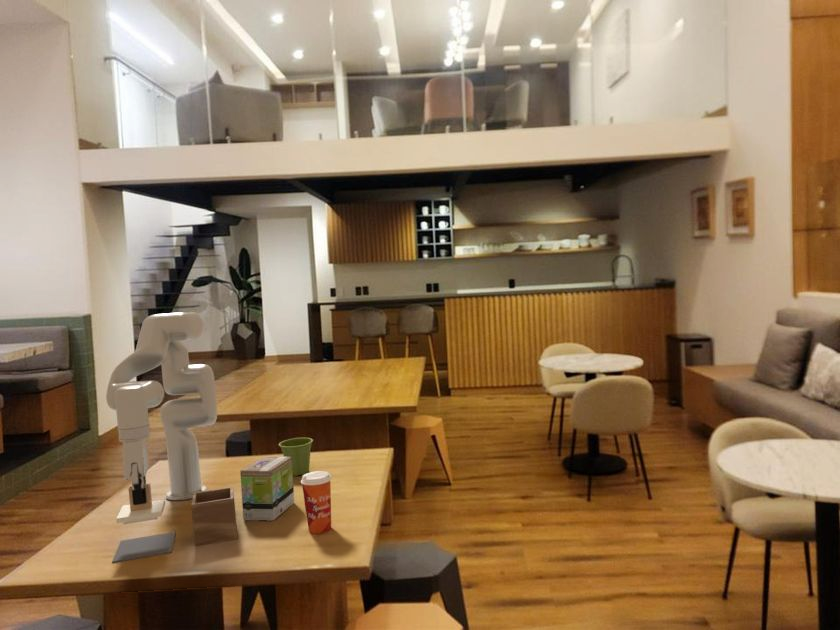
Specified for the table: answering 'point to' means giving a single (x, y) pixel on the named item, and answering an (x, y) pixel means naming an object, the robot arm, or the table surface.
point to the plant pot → (298, 454)
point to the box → (214, 516)
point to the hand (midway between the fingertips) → (140, 501)
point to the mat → (144, 547)
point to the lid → (141, 509)
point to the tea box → (267, 488)
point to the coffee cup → (317, 500)
